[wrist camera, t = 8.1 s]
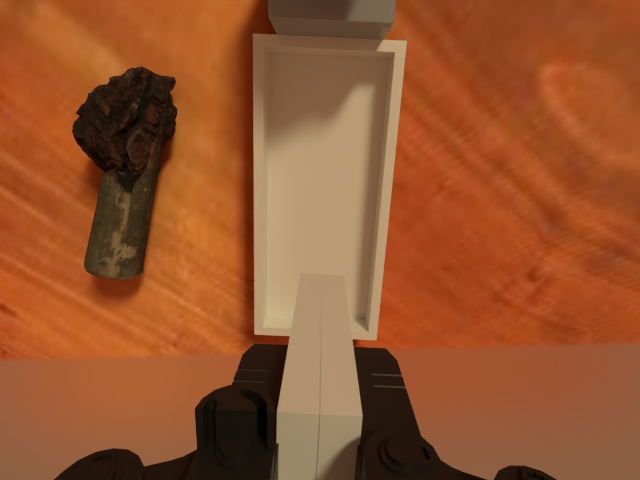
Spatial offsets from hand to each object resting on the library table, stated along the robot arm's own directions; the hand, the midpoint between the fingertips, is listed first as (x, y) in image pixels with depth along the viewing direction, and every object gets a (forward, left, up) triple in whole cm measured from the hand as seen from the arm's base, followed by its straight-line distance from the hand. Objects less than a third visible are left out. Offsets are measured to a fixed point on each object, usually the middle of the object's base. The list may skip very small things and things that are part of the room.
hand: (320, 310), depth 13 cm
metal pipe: (-18, -4, -25) cm, 32 cm away
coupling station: (0, 0, -23) cm, 23 cm away
